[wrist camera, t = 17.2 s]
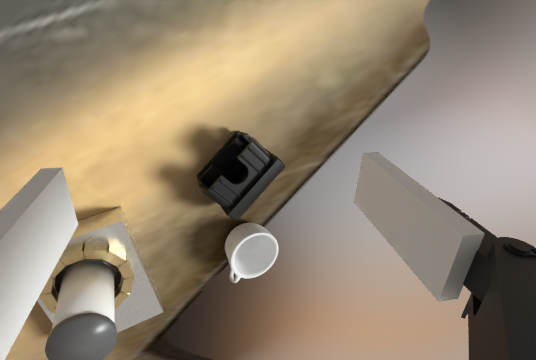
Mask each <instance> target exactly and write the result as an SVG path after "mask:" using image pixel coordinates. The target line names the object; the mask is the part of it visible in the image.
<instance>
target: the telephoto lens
mask: <svg viewBox="0 0 536 360" xmlns="http://www.w3.org/2000/svg"><path fill="white" fill-rule="evenodd" d="M116 341H117V329H116V325H115V320H114V273H113V270H112V269H111V268H110V266H108V265H107V264H105V263H103V262H101V261H96V260H88V261H82V262H79V263H77V264H75V265H73V266H72V267H70V268H69V269H68V270H67V271H66V272H65V274H64V276H63V278H62V283H61V288H60V292H59V297H58V302H57V307H56V311H55V316H54V321H53V326H52V330H51V332H50V333H49V335H48V338H47V342H46V347H45V352H46V356H47V358H48V359H49V360H102V359H103V358H105V357H106V356H107V355H108V354H109V353H110V352H111V351H112V350H113V348H114V346H115V344H116Z"/></svg>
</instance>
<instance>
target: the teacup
mask: <svg viewBox="0 0 536 360" xmlns="http://www.w3.org/2000/svg"><path fill="white" fill-rule="evenodd" d="M225 252H226V255H227V257H228V260H229V263H230V266H231V271H230V280H231V282H233V283H236V282H238V281H239V279H240V278H241V277H242V278H254V277H257V276H259V275H261V274H263V273H264V272H266V271H267V270H268V269H269V268H270V267H271V266H272V265H273V263H274V261H275V260H276V257H277V255H278V244H277V241H276V239H275V238H274V237H273V236H272V235H271V234H270V233H269V232H268V231H267V230H266V229H265V228H264V227H262V226H260V225H258V224H255V223H244V224H241V225H239V226H237V227H235V228H234V229H233V230H232V231H231V232H230V233H229V235H228V237H227V239H226V242H225ZM234 273H235V274H236V278H235V280H234V278H233V274H234Z"/></svg>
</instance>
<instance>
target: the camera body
mask: <svg viewBox="0 0 536 360" xmlns="http://www.w3.org/2000/svg"><path fill="white" fill-rule="evenodd" d="M88 260H96V261H101V262H103V263H105V264H107V265H108V266H110V268H111V269H112V270H113V273H114V320H115V325H116V329H117V333H118V332H120V331H122V330H124V329H127V328H129V327H131V326H133V325H136V324H138V323H140V322H142V321H144V320H147V319H149V318H151V317H153V316H156V315H158V314H160V313H162V312H163V308H162V303H161V297H160V293H159V291H158V289H157V286H156V284H155V282H154V280H153V277H152V275H151V273H150V271H149V269H148V266H147V264H146V262H145V260H144V257H143V255H142V253H141V251H140V248H139V246H138V244H137V242H136V239H135V237H134V235H133V233H132V231H131V228H130V226H129V224H128V222H127V219H126V217H125V215H124V213H123V210H122V208H121V207H118V208H115V209H112V210H109V211H106V212H103V213H100V214H97V215H94V216H91V217H89V218H86V219H83V220H80V221H78V226H77V228H76V230H75V232H74V233H73V235H72V237H71V239H70V241H69V243H68V244H67V246H66V248H65V250H64V252H63V253H62V255H61V257H60V259H59V261H58V263H57V264H56V266H55V268H54V270H53V272H52V274H51V275H50V277H49V279H48V281H47V283H46V284H45V286H44V288H43V290H42V292H41V294H40V295H39V297H38V299H37V302H38V303H39V305H40V306H41V308H42V309H43V311H44V312H45V313H46V315H47V316H48V318H49V319H50V320H51V322H52V323H53V321H54V316H55V311H56V307H57V302H58V297H59V292H60V288H61V283H62V278H63V276H64V274H65V272H66V271H67V270H68V269H69V268H70V267H72V266H73V265H75V264H77V263H79V262H82V261H88Z"/></svg>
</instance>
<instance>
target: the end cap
mask: <svg viewBox="0 0 536 360" xmlns="http://www.w3.org/2000/svg"><path fill="white" fill-rule="evenodd" d="M284 168H285V165H284V164H283V163H282V161H281V160H280V159H279V158H278V157H276V156H275V155H273V154H272V153H270V152H269V151H267V150H266V149H265V148H263V147H262V146H261V145H260V144H259V143H258V142H257V141H256V140H255V139H254V138H253V137H250V136H249V135H248V134H247V133H243V132H240V131H237V132H236V133H235V134H234V135H233V136H232V137H231V138H230V139H229V140H228V141H227V143H226V144H225V145H224V146H223V147H222V148H221V149H220V150H219V152H218V153H217V154H216V155H215V156H214V157H213V158H212V159H211V160H210V162H209V163H208V164H207V165H206V166H205V167H204V168H203V169H202V171H201V172H200V173H199V174H198V175H197V179H198V183H199V186H200V187H201V188H203V193H204V194H206V195H207V196H208V197H210V198H211V199H212V200H214V201H215V202H217V203H218V204H219V205H220V206H221V207H222V209H223V210H224V212H225V213H226V215H227V216H229V217H230V218H232V219H234V220H238V219H239V218H240V217H241V216H242V215H243V214H244V213H245V211H246V210H247V209H248V208H249V207H250V206H251V205H252V204H253V202H254V201H255V200H256V199H257V198H258V197H259V196H260V195H261V194H262V192H263V191H264V190H265V189H266V188H267V187H268V186H269V185H270V183H271V182H272V181H273V180H274V179H275V178H276V177H277V176H278V174H279V173H280V172H281V171H282V170H283V169H284Z"/></svg>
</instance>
